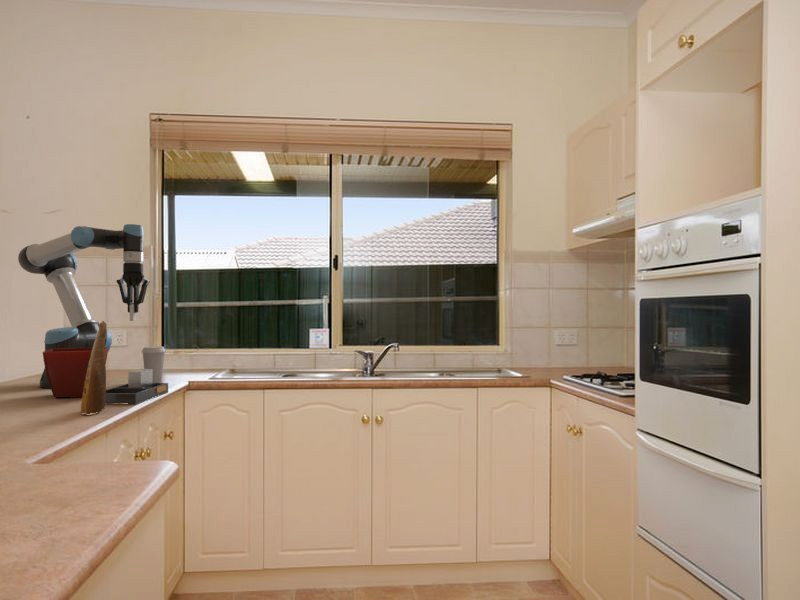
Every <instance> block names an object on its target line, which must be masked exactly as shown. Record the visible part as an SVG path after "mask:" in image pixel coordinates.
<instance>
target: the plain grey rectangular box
mask: <svg viewBox="0 0 800 600" xmlns="http://www.w3.org/2000/svg"><path fill="white" fill-rule="evenodd" d="M127 374H128V375H127V378H128V379H127V380H128V382H127V383H128V388H152V381H153V369H144V368H139V369H135V370H131V371H130V370H129V371H128V373H127Z"/></svg>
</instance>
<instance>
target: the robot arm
mask: <svg viewBox="0 0 800 600" xmlns="http://www.w3.org/2000/svg"><path fill="white" fill-rule="evenodd" d="M144 232H145V231H144V226H142V224H136V223H135V224H134V223H132V224H131V223H130V224H128V223H126V224H124V225H123V228H122V229H121V230H113V229H105V228H99V227H98V228H97V227H91V226H86V225H85V226H84V225H82V226H81V225H79V226H75V227H74V228H73V229H72V230H71V232H70V233H68V234H65V235H61V236H60V237H56V238H54V239H51V240H48V241H45V242H42V243H40V244H39V243H32V244H29V245H28V246H25V247H23V248H22V249H21V250H20V251H19V253H18V257H17V259H18V263H19V265H20V267H21V268H22V269H23V270H24V271H26V272H27V273H30V274H34V275H35V274H36V275H44V276H45V278H46V281H47V282H48V283H51V284H52V285H53V287H54V289H55V291H56V294H57V296H58V299H59V300H60V303H61V305H62V308H63V311H64V312H65V315H66V317H67V320H68V321H69V324H70V326H69V327H68V326H65V327H58V328H52V329H49V330H47V331H46V332H45V334H44V335H45V336H44V351H47V350H50V349H60V348H93V345H94V342H95V339H96V336H97V333H98V330H99V327H100V322H98V321H97V320H94V319H93V316H92V314H91V312H90V309H89V308H88V306H87V304H86V301H85V298H84V296H83V295H82V292H81V290H80V288H79V285H78V283H77V281H76V279H75V275H76V271H77V268H78V265H77V264H78V260H77V257H76V256H75V254H74V253H76V252H79V251H82V250H85V249H88V248H103V249H107V250H113V251H114V250H122V249H123V251H122V252H123V258H122V259H123V260H122V262H124V263H122V266H123V267H122V270H123V271H122V272H123V274H122V276H121V278H119V279H116V283H117V284H118V289H119V292H120V297H121V301H122V303H123V304H126V305H127V313H129V322H136V321H137V313H139V306H140V305H141V304H143V303H144V302H145V301H144V300H145V297H146V294H147V290H148V289H147V288H148V285H150V283H151V280H149V279H147V278H145V275H144V264H143V263H144V244H145V243H144V240H145V239H144V238H145V234H144ZM141 283H142V284H141ZM125 284H126V286H125ZM140 284H141V286H140ZM126 289H127V290H126ZM112 337H113V336H112V334H111V331H110V330H109V329H107V331H106V339H105V345H104V347H108V352H110V350H111V347H112V344H113V338H112ZM41 387H44V389H51V388H50V384H49V381H48V378H47V374H46V370H45V367H44V368H43V372H42V375H41V376H40V379H39V388H41Z"/></svg>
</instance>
